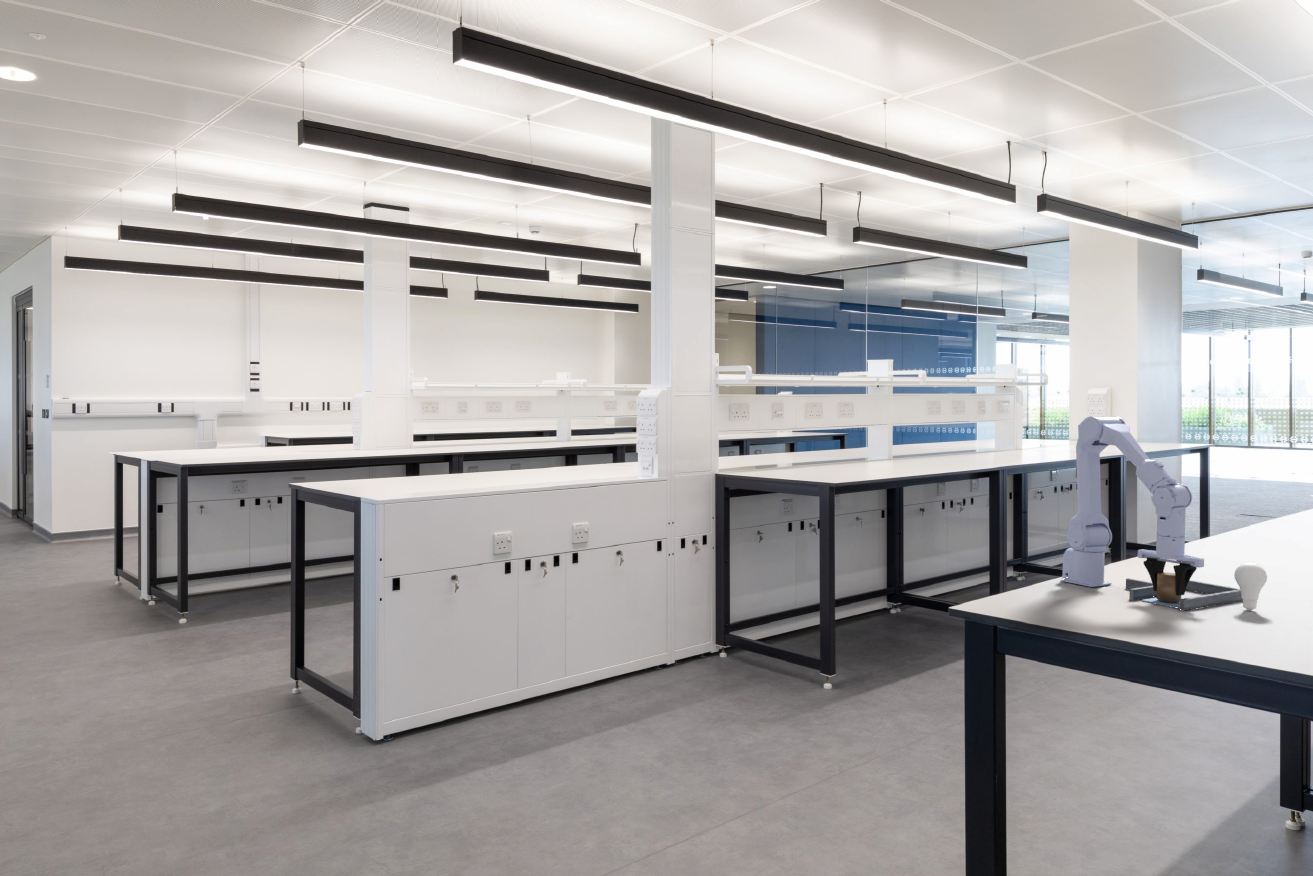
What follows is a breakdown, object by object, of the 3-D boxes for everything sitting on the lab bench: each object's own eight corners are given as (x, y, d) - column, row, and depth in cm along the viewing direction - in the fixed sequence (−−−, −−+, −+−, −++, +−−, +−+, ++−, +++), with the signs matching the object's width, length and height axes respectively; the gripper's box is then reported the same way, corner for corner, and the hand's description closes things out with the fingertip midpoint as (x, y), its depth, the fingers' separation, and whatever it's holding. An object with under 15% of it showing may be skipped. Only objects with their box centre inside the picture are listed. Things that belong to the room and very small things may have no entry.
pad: (1141, 601, 203) (1142, 599, 203) (1162, 597, 206) (1162, 596, 206) (1175, 608, 196) (1175, 606, 196) (1196, 604, 199) (1196, 603, 199)
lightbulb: (1227, 609, 195) (1228, 561, 195) (1243, 606, 198) (1245, 559, 197) (1255, 614, 190) (1257, 566, 189) (1272, 612, 192) (1273, 564, 192)
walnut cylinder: (1151, 598, 202) (1152, 573, 202) (1164, 596, 204) (1165, 571, 204) (1172, 602, 198) (1173, 577, 198) (1185, 600, 200) (1186, 575, 200)
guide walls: (1096, 592, 212) (1097, 582, 212) (1156, 583, 223) (1157, 574, 223) (1184, 610, 193) (1184, 600, 193) (1244, 600, 204) (1245, 590, 204)
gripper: (1212, 538, 196) (1210, 597, 196) (1151, 530, 209) (1149, 585, 209) (1194, 540, 193) (1192, 600, 193) (1133, 532, 206) (1131, 588, 206)
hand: (1169, 592), depth 201 cm, fingers closed on walnut cylinder, 5 cm apart
